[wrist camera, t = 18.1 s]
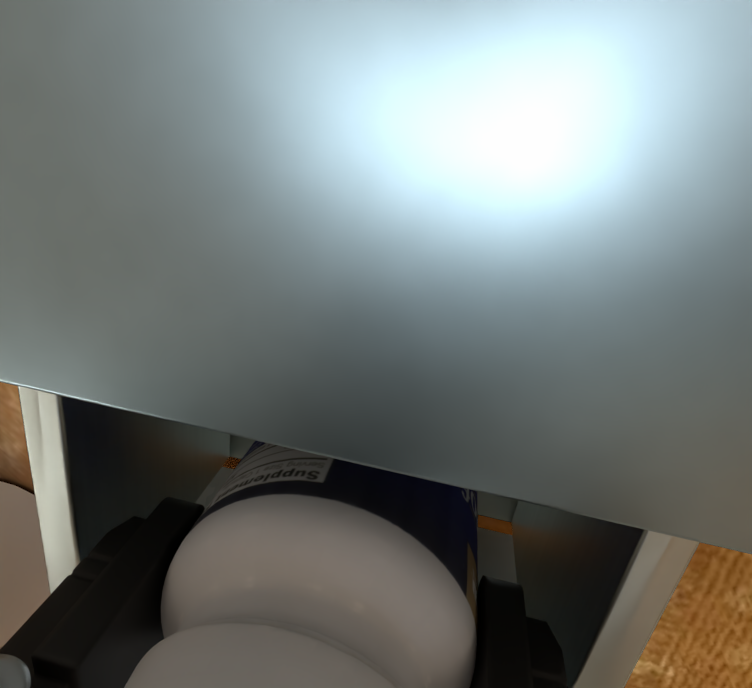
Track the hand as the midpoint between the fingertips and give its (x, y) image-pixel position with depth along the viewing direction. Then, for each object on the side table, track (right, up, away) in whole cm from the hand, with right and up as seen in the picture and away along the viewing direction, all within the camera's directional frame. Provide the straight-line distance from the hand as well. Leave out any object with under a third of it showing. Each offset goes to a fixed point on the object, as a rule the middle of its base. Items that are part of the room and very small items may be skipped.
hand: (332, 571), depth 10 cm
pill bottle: (+1, +2, +5) cm, 6 cm away
